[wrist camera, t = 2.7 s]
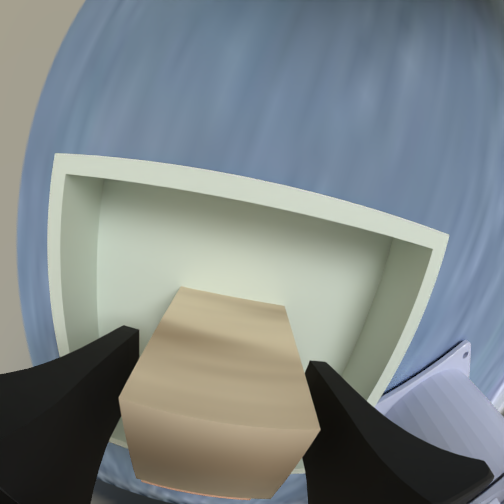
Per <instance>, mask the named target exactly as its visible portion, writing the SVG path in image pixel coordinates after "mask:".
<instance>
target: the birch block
mask: <svg viewBox="0 0 504 504" xmlns="http://www.w3.org/2000/svg"><path fill="white" fill-rule="evenodd" d="M119 404H120V410H121V416H122V421H123V426H124V431H125V436H126V441H127V445H128V449H129V453H130V457H131V461H132V465H133V469H134V472H135V476H136V478H137V479H140V480H144V481H147V482H151V483H155V484H158V485H162V486H167V487H171V488H176V489H180V490H185V491H191V492H196V493H203V494H209V495H217V496H226V497H237V498H254V499H271V498H272V497H273V495H274V494H275V493H276V492H277V490H278V489H279V488H280V487H281V485H282V484H283V483H284V482H285V480H286V479H287V478H288V476H289V475H290V474H291V472H292V471H293V470H294V468H295V467H296V466H297V464H298V463H299V461H300V460H301V458H302V457H303V456H304V454H305V453H306V451H307V450H308V448H309V447H310V445H311V444H312V442H313V441H314V439H315V438H316V436H317V434H318V433H319V431H320V430H321V429H320V426H319V422H318V419H317V415H316V412H315V408H314V404H313V401H312V397H311V394H310V390H309V387H308V384H307V380H306V377H305V373H304V370H303V366H302V363H301V359H300V356H299V353H298V349H297V346H296V343H295V339H294V336H293V332H292V329H291V326H290V322H289V319H288V316H287V312H286V309H285V306H282V305H276V304H270V303H265V302H259V301H253V300H248V299H242V298H237V297H232V296H226V295H221V294H216V293H211V292H206V291H201V290H196V289H192V288H187V287H182V286H181V287H180V288H179V290H178V292H177V293H176V295H175V297H174V299H173V300H172V302H171V304H170V305H169V307H168V309H167V310H166V312H165V314H164V316H163V317H162V319H161V321H160V323H159V324H158V326H157V328H156V330H155V331H154V333H153V335H152V337H151V338H150V340H149V342H148V344H147V346H146V347H145V349H144V351H143V353H142V355H141V356H140V358H139V360H138V362H137V364H136V366H135V367H134V369H133V371H132V373H131V375H130V377H129V379H128V380H127V382H126V384H125V386H124V388H123V390H122V392H121V394H120V396H119Z"/></svg>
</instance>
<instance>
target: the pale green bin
mask: <svg viewBox="0 0 504 504" xmlns="http://www.w3.org/2000/svg"><path fill="white" fill-rule="evenodd" d="M448 239H449V235H448V234H445V233H443V232H440V231H437V230H435V229H432V228H429V227H426V226H423V225H421V224H418V223H415V222H412V221H409V220H406V219H403V218H400V217H397V216H394V215H391V214H388V213H384V212H381V211H378V210H375V209H372V208H368V207H365V206H361V205H358V204H355V203H351V202H348V201H344V200H340V199H337V198H333V197H329V196H326V195H322V194H318V193H314V192H310V191H306V190H302V189H298V188H294V187H289V186H285V185H281V184H276V183H272V182H267V181H263V180H258V179H253V178H248V177H243V176H238V175H233V174H228V173H222V172H217V171H211V170H205V169H199V168H193V167H187V166H180V165H174V164H167V163H159V162H152V161H144V160H135V159H126V158H116V157H105V156H93V155H79V154H60V153H55V157H54V164H53V171H52V178H51V187H50V197H49V211H48V275H49V289H50V299H51V308H52V316H53V322H54V329H55V335H56V340H57V346H58V350H59V355H60V357H62V356H64V355H66V354H68V353H71V352H73V351H75V350H77V349H79V348H81V347H83V346H85V345H87V344H89V343H91V342H93V341H95V340H97V339H99V338H100V337H102V336H104V335H106V334H108V333H110V332H111V331H113V330H115V329H117V328H119V327H121V326H123V325H125V326H128V327H132V328H136V329H139V356H141V355H142V353H143V351H144V349H145V347H146V346H147V344H148V342H149V340H150V338H151V337H152V335H153V333H154V331H155V330H156V328H157V326H158V324H159V323H160V321H161V319H162V317H163V316H164V314H165V312H166V310H167V309H168V307H169V305H170V304H171V302H172V300H173V299H174V297H175V295H176V293H177V292H178V290H179V288H180V287H181V286H182V287H187V288H192V289H196V290H201V291H206V292H211V293H216V294H221V295H226V296H232V297H237V298H242V299H248V300H253V301H259V302H265V303H270V304H276V305H282V306H285V309H286V312H287V316H288V319H289V322H290V326H291V329H292V332H293V336H294V339H295V343H296V346H297V349H298V353H299V356H300V359H301V363H302V366H303V370H304V373H305V371H306V369H307V366H308V364H309V361H310V360H311V361H323V362H327V363H328V364H329V365H330V366H331V367H332V368H333V369H334V370H335V371H336V372H337V373H338V374H339V375H340V376H341V377H342V378H343V379H344V380H345V381H346V382H347V383H348V384H349V385H350V386H351V387H352V388H353V389H354V390H355V391H357V392H358V393H359V394H360V395H361V396H362V397H363V398H364V399H365V400H366V401H367V402H369V403H370V404H371V405H372V406H373V407H375V406H376V404H377V402H378V401H379V399H380V398H381V396H382V394H383V393H384V391H385V389H386V388H387V386H388V384H389V382H390V381H391V379H392V377H393V375H394V374H395V372H396V370H397V368H398V366H399V364H400V362H401V361H402V359H403V357H404V355H405V353H406V351H407V349H408V347H409V345H410V342H411V340H412V338H413V336H414V334H415V332H416V330H417V327H418V325H419V323H420V320H421V318H422V316H423V313H424V311H425V308H426V306H427V303H428V301H429V298H430V295H431V293H432V290H433V287H434V284H435V282H436V279H437V276H438V273H439V270H440V266H441V263H442V260H443V257H444V253H445V250H446V246H447V243H448ZM109 442H111V443H113V444H116V445H119V446H122V447H125V448H128V445H127V441H126V436H125V431H124V426H123V421H122V416H121V418H120V420H119V422H118V424H117V426H116V427H115V429H114V431H113V433H112V435H111V437H110V439H109ZM299 473H305V468H304V464H303V459H302V458H301V460H300V461H299V463H298V464H297V466H296V467H295V468H294V470H293V471H292V472H291V474H299Z"/></svg>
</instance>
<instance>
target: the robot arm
mask: <svg viewBox="0 0 504 504" xmlns="http://www.w3.org/2000/svg"><path fill="white" fill-rule="evenodd" d="M470 353H471V344H470V342H469V341H467V340H464V341H463V342H461V343H460V344H459V345H457V346H456V347H455V348H454V349H452V350H451V351H450V352H449V353H447V354H446V355H445V356H443V357H442V358H441V359H439V360H438V361H437V362H435V363H434V364H432V365H431V366H430V367H428V368H427V369H425V370H424V371H422V372H421V373H419V374H418V375H416V376H415V377H413V378H412V379H410V380H409V381H407V382H405V383H404V384H402V385H401V386H399V387H397V388H396V389H394V390H392V391H391V392H389V393H387V394H385V395H384V396H382V397H381V398H380V399H379V401H378V402H377V404H376V406H375V407H373V406H372V405H371V404H370V403H369V402H367V401H366V400H365V399H364V398H363V397H362V396H361V395H360V394H359V393H358V392H357V391H355V390H354V389H353V388H352V387H351V386H350V385H349V384H348V383H347V382H346V381H345V380H344V379H343V378H342V377H341V376H340V375H339V374H338V373H337V372H336V371H335V370H334V369H333V368H332V367H331V366H330V365H329V364H328V363H327V362H323V361H311V360H310V361H309V364H308V366H307V369H306V371H305V377H306V380H307V384H308V387H309V390H310V394H311V397H312V401H313V404H314V408H315V412H316V415H317V419H318V422H319V426H320V429H321V430H320V431H319V433H318V434H317V436H316V438H315V439H314V441H313V442H312V444H311V445H310V447H309V448H308V450H307V451H306V453H305V454H304V456H303V457H302V459H303V464H304V468H305V473H306V480H307V491H308V504H504V417H503V416H502V415H501V414H500V412H499V411H498V410H497V409H496V408H495V407H494V405H493V404H492V403H491V402H490V401H489V400H488V399H487V398H486V396H485V395H484V394H483V393H482V392H481V391H480V390H479V389H478V388H477V387H476V385H475V384H474V383H473V382H472V381H471V380H470V379H469V371H470ZM139 358H140V356H139V329H136V328H132V327H128V326H125V325H123V326H121V327H119V328H117V329H115V330H113V331H111V332H110V333H108V334H106V335H104V336H102V337H100V338H99V339H97V340H95V341H93V342H91V343H89V344H87V345H85V346H83V347H81V348H79V349H77V350H75V351H73V352H71V353H68V354H66V355H64V356H62V357H60V358H57V359H55V360H52V361H50V362H47V363H44V364H41V365H38V366H35V367H32V368H29V369H24V370H19V371H15V372H10V373H6V374H0V504H90V503H91V498H92V494H93V489H94V485H95V481H96V478H97V474H98V471H99V467H100V464H101V461H102V458H103V455H104V452H105V449H106V446H107V444H108V442H109V439H110V437H111V435H112V433H113V431H114V429H115V427H116V426H117V424H118V422H119V420H120V418H121V410H120V404H119V396H120V394H121V392H122V390H123V388H124V386H125V384H126V382H127V380H128V379H129V377H130V375H131V373H132V371H133V369H134V367H135V366H136V364H137V362H138V360H139Z"/></svg>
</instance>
